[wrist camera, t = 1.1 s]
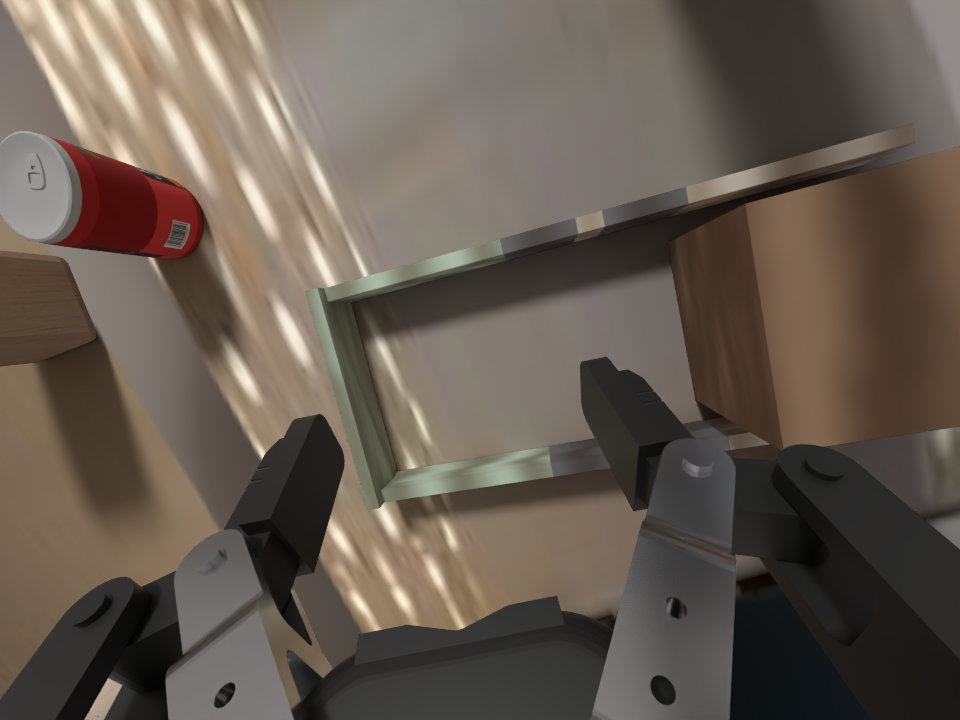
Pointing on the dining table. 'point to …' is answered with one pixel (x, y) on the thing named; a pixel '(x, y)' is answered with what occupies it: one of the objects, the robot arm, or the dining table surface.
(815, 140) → the dining table surface
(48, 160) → the canned food
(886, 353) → the walnut block
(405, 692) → the robot arm
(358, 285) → the tray
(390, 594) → the dining table surface
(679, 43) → the dining table surface
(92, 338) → the block
